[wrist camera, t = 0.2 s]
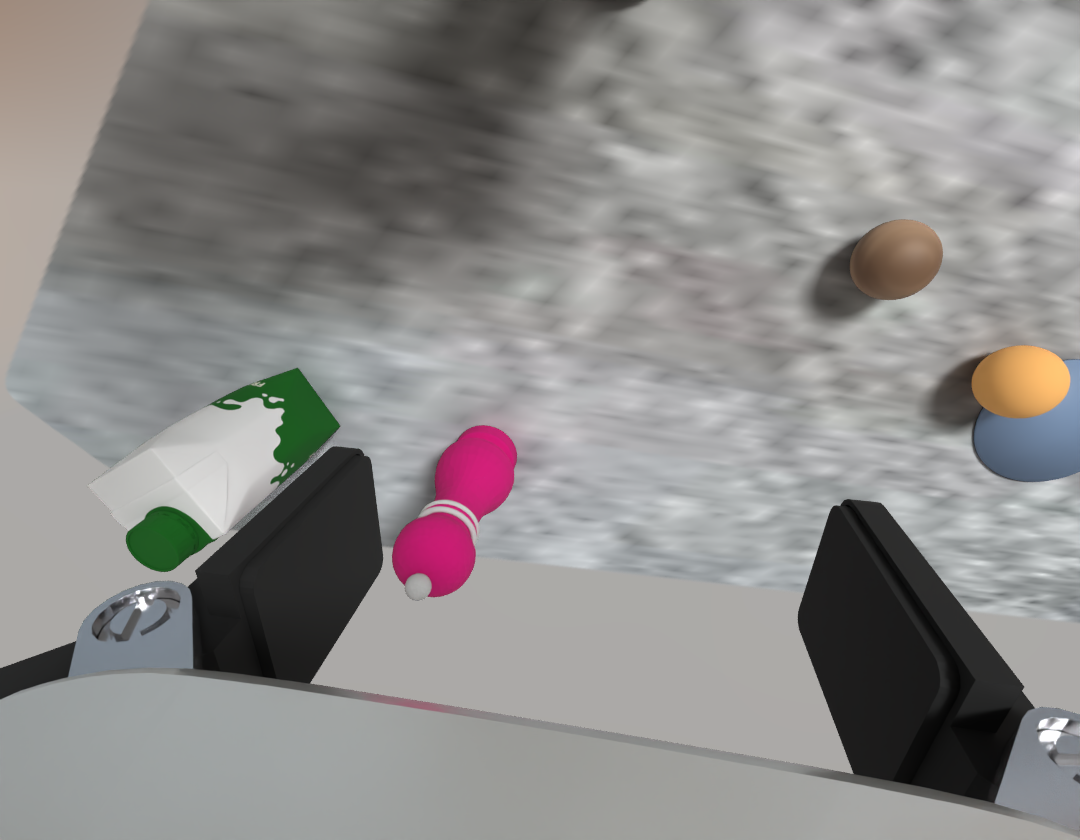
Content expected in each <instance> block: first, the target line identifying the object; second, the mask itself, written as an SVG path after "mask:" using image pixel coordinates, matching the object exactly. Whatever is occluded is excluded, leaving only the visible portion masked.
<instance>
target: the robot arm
mask: <svg viewBox="0 0 1080 840" xmlns="http://www.w3.org/2000/svg"><path fill="white" fill-rule="evenodd" d="M382 563H383V552H382V544H381V536H380V528H379V520H378V512H377V504H376V496H375V488H374V480H373V472H372V464H371V460H370V458H369V457H368V456H364V454H363V452H362V450H360V449H355V448H346V447H332V448H330V449H329V450H328V451H327V452H325V453H324V454H323V455H322V456H321V457H320V458H319V459H318V460H317V461H316V462H314V463H313V464H312V465H311V466H310V467H309V468H308V469H307V470H306V471H305V472H303V473H302V474H301V475H300V476H299V477H298V478H297V479H296V480H295V481H293V482H292V483H291V484H290V485H289V486H288V487H287V488H286V489H285V490H284V491H282V492H281V493H280V494H279V495H278V496H277V497H276V498H275V499H274V500H273V501H271V502H270V503H269V504H268V505H267V506H266V507H265V508H264V509H263V510H262V511H260V512H259V513H258V514H257V515H256V516H255V517H254V518H253V519H252V520H251V521H249V522H248V523H247V524H246V525H245V526H244V527H243V528H242V529H241V530H239V531H238V532H237V533H236V534H235V535H234V536H233V537H232V538H231V539H230V540H229V541H227V542H226V543H225V544H224V545H223V546H222V547H221V548H220V549H219V550H217V551H216V552H215V553H214V554H213V555H212V556H211V557H210V558H209V559H208V560H207V561H205V562H204V563H203V564H202V565H201V566H200V567H199V568H198V569H197V570H195V572H196V575H197V579H196V580H195V581H194V582H193V583H192V584H190V585H189V586H188V587H186V586H185V585H184V584H182V583H178V582H174V581H155V582H151V583H146V584H141V585H138V586H135V587H133V588H130V589H127V590H125V591H122V592H121V593H119V594H117V595H115V596H113V597H111V598H109V599H107V600H106V601H105V602H103V603H102V604H101V605H99V606H98V607H97V608H95V609H94V610H93V611H92V612H91V613H90V614H89V615H88V616H87V617H86V619H85V620H84V621H83V623H82V625H81V627H80V629H79V632H78V636H77V641H75V642H73V643H70V644H67V645H65V646H61V647H59V648H56V649H53V650H51V651H48V652H45V653H42V654H39V655H36V656H34V657H31V658H28V659H25V660H23V661H19V662H17V663H14V664H11V665H8V666H6V667H3V668H0V840H1080V714H1077V713H1073V712H1070V711H1066V710H1063V709H1059V708H1049V707H1039V708H1034V706H1033V705H1032V704H1031V702H1030V701H1029V700H1028V699H1027V697H1026V696H1025V695H1024V693H1023V692H1022V690H1023V688H1024V686H1023V685H1022V683H1021V682H1020V680H1019V679H1018V678H1017V677H1016V675H1015V674H1014V673H1013V671H1012V670H1011V669H1010V668H1009V666H1008V665H1007V664H1006V663H1005V661H1004V660H1003V659H1002V657H1001V656H1000V655H999V653H998V652H997V651H996V650H995V648H994V647H993V646H992V644H991V643H990V642H989V641H988V639H987V638H986V637H985V636H984V634H983V633H982V632H981V630H980V629H979V628H978V626H977V625H976V624H975V623H974V621H973V620H972V619H971V617H970V616H969V615H968V614H967V612H966V611H965V610H964V608H963V607H962V606H961V604H960V603H959V602H958V601H957V599H956V598H955V597H954V595H953V594H952V593H951V592H950V590H949V589H948V588H947V586H946V585H945V584H944V583H943V581H942V580H941V579H940V577H939V576H938V575H937V574H936V572H935V571H934V570H933V568H932V567H931V566H930V565H929V563H928V562H927V561H926V559H925V558H924V557H923V556H922V554H921V553H920V552H919V550H918V549H917V548H916V547H915V545H914V544H913V543H912V541H911V540H910V539H909V538H908V536H907V535H906V534H905V532H904V531H903V530H902V529H901V527H900V526H899V525H898V523H897V522H896V521H895V520H894V518H893V517H892V516H891V514H890V513H889V512H888V510H887V509H886V508H885V507H884V506H883V505H882V504H881V503H878V502H870V501H860V500H850V499H847V500H844V501H843V503H842V504H841V506H833V507H832V509H831V511H830V513H829V516H828V519H827V523H826V526H825V529H824V532H823V535H822V538H821V541H820V545H819V548H818V551H817V554H816V557H815V560H814V563H813V567H812V570H811V573H810V576H809V579H808V582H807V585H806V589H805V592H804V595H803V598H802V602H801V604H800V607H799V611H798V625H799V630H800V633H801V635H802V638H803V641H804V643H805V646H806V649H807V651H808V654H809V657H810V659H811V662H812V665H813V667H814V670H815V673H816V675H817V678H818V680H819V683H820V686H821V688H822V691H823V694H824V696H825V699H826V702H827V704H828V707H829V710H830V712H831V715H832V718H833V720H834V723H835V725H836V728H837V731H838V733H839V736H840V739H841V741H842V744H843V746H844V749H845V752H846V755H847V757H848V760H849V763H850V765H851V768H852V770H853V773H854V774H850V773H845V772H839V771H834V770H829V769H823V768H818V767H813V766H807V765H801V764H795V763H790V762H783V761H777V760H772V759H766V758H760V757H754V756H748V755H743V754H736V753H731V752H725V751H719V750H713V749H707V748H701V747H695V746H690V745H684V744H678V743H672V742H666V741H661V740H655V739H649V738H643V737H637V736H631V735H624V734H618V733H612V732H607V731H601V730H594V729H589V728H582V727H576V726H570V725H564V724H558V723H552V722H546V721H540V720H534V719H527V718H522V717H516V716H509V715H503V714H497V713H491V712H485V711H479V710H472V709H467V708H460V707H454V706H448V705H442V704H435V703H429V702H423V701H417V700H410V699H404V698H398V697H391V696H385V695H379V694H372V693H366V692H359V691H354V690H347V689H341V688H335V687H328V686H322V685H315V684H310V682H311V681H312V679H313V678H314V676H315V674H316V673H317V671H318V670H319V668H320V667H321V665H322V663H323V662H324V660H325V659H326V657H327V655H328V654H329V652H330V651H331V649H332V647H333V646H334V644H335V643H336V641H337V640H338V638H339V636H340V635H341V633H342V632H343V630H344V628H345V627H346V625H347V624H348V622H349V621H350V619H351V617H352V616H353V614H354V613H355V611H356V609H357V608H358V606H359V605H360V603H361V601H362V600H363V598H364V597H365V595H366V593H367V592H368V590H369V589H370V587H371V586H372V584H373V582H374V581H375V579H376V578H377V576H378V574H379V573H380V570H381V567H382Z"/></svg>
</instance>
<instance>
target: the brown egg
mask: <svg viewBox="0 0 1080 840" xmlns="http://www.w3.org/2000/svg"><path fill="white" fill-rule="evenodd" d="M942 257H943V249H942V244H941V241H940V239H939V237H938V236H937V234H936V233H935V232H934V231H933V230H932V229H931V228H930V227H928V226H927V225H925V224H923V223H921V222H918V221H914V220H894V221H889V222H886V223H883V224H881V225H879V226H877V227H875V228H873V229H872V230H870V231H869V232H868V233H866V234H865V235H864V236H863V237H862V238H861V239H860V241H859V242H858V243H857V245H856V246H855V248H854V250H853V252H852V255H851V259H850V274H851V277H852V279H853V282H854V283H855V285H856V286H857V287H858V288H859V289H860V290H861V291H862V292H863V293H865V294H866V295H868V296H870V297H873V298H876V299H881V300H896V299H901V298H905V297H908V296H911V295H913V294H915V293H917V292H918V291H920V290H921V289H923V288H924V287H925V286H927V285H928V284H929V283H930V282H931V281H932V279H933V278H934V277H935V276H936V274H937V272H938V270H939V268H940V266H941V263H942Z"/></svg>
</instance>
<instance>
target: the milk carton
mask: <svg viewBox="0 0 1080 840" xmlns="http://www.w3.org/2000/svg"><path fill="white" fill-rule="evenodd" d="M339 427H340V425H339V424H338V422H337V421H336V419H335V418H334V417H333V415H332V414H331V413H330V411H329V410H328V408H327V407H326V406H325V404H324V403H323V402H322V400H321V399H320V397H319V396H318V395H317V393H316V392H315V391H314V389H313V388H312V386H311V385H310V384H309V382H308V381H307V380H306V378H305V377H304V376H303V374H302V373H301V371H300V370H299V369H298V368H296V369H293V370H290V371H287V372H284V373H281V374H278V375H275V376H272V377H270V378H267V379H264V380H261V381H258V382H255V383H252V384H249V385H247V386H244V387H242V388H240V389H238V390H236V391H234V392H232V393H230V394H228V395H226V396H224V397H222V398H220V399H218V400H217V401H215V402H213V403H211V404H209V405H207V406H206V407H204V408H202V409H200V410H198V411H196V412H195V413H193V414H191V415H189V416H187V417H185V418H184V419H182V420H180V421H178V422H176V423H175V424H173V425H171V426H169V427H168V428H166V429H165V430H163V431H162V432H160V433H159V434H157V435H156V436H154V437H153V438H151V439H149V440H148V441H146V442H145V443H143V444H142V445H141V446H139V447H138V448H137V449H135V450H134V451H133V452H131V453H130V454H129V455H127V456H126V457H125V458H123V459H122V460H121V461H119V462H118V463H117V464H115V465H114V466H113V467H111V468H110V469H109V470H107V471H106V472H105V473H103V474H102V475H101V476H99V477H98V478H96V479H95V480H94V481H92V482H91V483H90V484H88V485H87V487H89V489H90V490H91V491H92V492H93V493H94V494H95V495H96V496H97V497H98V498H99V499H100V500H101V501H102V502H103V503H104V504H105V506H106V507H108V509H109V510H110V511H111V513H110V514H111V516H112V517H113V518H114V519H115V520H116V521H117V522H118V523H119V524H120V525H122V526H123V527H124V528H125V529H126V530H127V531H128V533H127V535H126V544H127V547H128V549H129V551H130V552H131V554H132V555H133V556H134V558H135V559H136V560H138V561H139V562H140V563H141V564H143V565H144V566H146V567H148V568H150V569H152V570H155V571H160V572H168V571H171V570H173V569H175V568H176V567H177V566H178V565H180V564H181V563H182V562H183V561H184V560H185V559H186V558H188V557H189V556H190V555H193V554H195V553H197V552H199V551H200V550H202V549H203V548H204V547H205V546H206V545H207V544H209V543H211V542H213V541H215V540H217V539H218V538H219V537H220V536H223V535H225V534H226V533H227V532H228V531H229V530H230V529H232V528H233V527H234V526H235V525H236V524H237V523H238V522H239V521H240V520H241V519H242V518H243V517H245V516H246V515H247V514H248V513H249V512H250V511H251V510H253V509H254V508H255V507H256V506H257V505H258V504H259V503H260V502H262V501H263V500H264V499H265V498H266V497H267V496H268V495H269V494H271V493H272V492H273V491H274V490H275V489H276V488H277V487H278V486H280V485H281V484H282V483H283V482H284V481H285V480H286V479H287V478H289V477H290V476H291V475H292V474H293V473H294V472H295V471H296V470H298V469H299V468H300V467H301V466H302V465H303V464H304V463H305V462H306V461H307V460H308V459H309V458H310V457H311V456H312V455H313V454H314V453H315V452H316V451H317V450H318V449H319V448H320V447H321V446H322V445H323V444H324V443H325V442H326V441H327V440H328V438H329V437H330V436H331V435H332V434H333V433H334V432H335V431H336V430H337V429H338V428H339Z"/></svg>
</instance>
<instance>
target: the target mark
mask: <svg viewBox="0 0 1080 840" xmlns="http://www.w3.org/2000/svg"><path fill="white" fill-rule="evenodd" d="M1062 361H1063V362H1064V363H1065V365H1066V366H1067V368H1068V370H1069V374H1070V387H1069V390H1068V393H1067V395H1066V396H1065V398H1064V399H1063V400H1062V401H1061V402H1060V403H1059V404H1058V405H1057V406H1056V407H1055V408H1053V409H1051V410H1050V411H1048V412H1046V413H1044V414H1041V415H1038V416H1035V417H1030V418H1007V417H1003V416H999V415H996V414H994V413H992V412H990V411H988V410H987V409H985V408H984V407H983V409H982V410H981V412H980V414H979V416H978V419H977V421H976V425H975V429H974V444H975V448H976V451H977V453H978V455H979V457H980V459H981V460H982V461H983V463H984V464H985V465H987V466H988V467H989V468H990V469H991V470H993V471H994V472H996V473H998V474H1000V475H1002V476H1004V477H1007V478H1010V479H1014V480H1018V481H1027V482H1040V481H1049V480H1054V479H1059V478H1063V477H1066V476H1069V475H1072V474H1075V473H1077V472H1080V359H1072V360H1062Z"/></svg>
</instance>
